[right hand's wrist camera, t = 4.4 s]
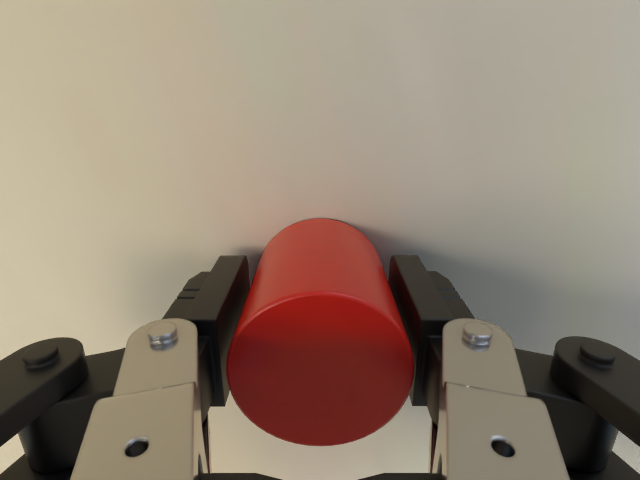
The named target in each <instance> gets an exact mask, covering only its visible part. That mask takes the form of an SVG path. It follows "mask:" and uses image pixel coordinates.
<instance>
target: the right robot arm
mask: <svg viewBox="0 0 640 480" xmlns="http://www.w3.org/2000/svg"><path fill="white" fill-rule="evenodd" d="M388 283H389V286H390V289H391V292H392V294H393V297H394V300H395V303H396V306H397V308H398V311H399V314H400V317H401V320H402V323H403V325H404V328H405V331H406V334H407V337H408V339H409V342H410V345H411V349H412V352H413V357H414V378H413V383H412V387H411V389H410V392H409V396H410V400H411V403H412V406H427V407H428V410H429V413H430V416H431V418H432V419H431V427H430V447H429V471H428V473H383V474H379V475H375V476H371V477H367V478H363V479H359V480H640V474H639V473H637V472H636V471H635V470H634V469H633V468H632V467H630V466H629V465H628V464H627V463H626V462H624V461H623V460H622V459H621V458H620V457H619V456H617V455H616V454H615V453H614V452H613V451H612V448H613V445H614V442H615V439H616V436H617V434H618V431H620V432H622V433H623V434H624V435H625V436H627V437H628V438H629V439H630V440H632V441H633V442H634V443H636V444H637V445H638V446H639V447H640V361H639V360H638V359H636V358H634V357H633V356H631V355H629V354H627V353H626V352H624V351H622V350H621V349H619V348H617V347H615V346H613V345H610V344H608V343H605V342H603V341H599V340H596V339H592V338H586V337H577V336H574V337H565V338H562V339H560V340H559V341H558V342H557V343H556V346H555V350H554V354H553V356H550V355H545V354H540V353H535V352H529V351H524V350H520V349H516V348H514V345H513V341H512V339H511V337H510V336H509V334H508V333H506V332H505V331H504V330H503V329H501V328H500V327H498V326H496V325H494V324H492V323H489V322H486V321H483V320H478V319H475V318H474V316H473V315H472V313H471V312H470V310H469V309H468V307H467V306H466V305H465V303H464V302H463V300H462V299H460V296H459V294H458V293H457V291H455V288H454V287H453V285H452V284H451V282H450V281H449V280H448V279H447V278H445V277H444V276H442V275H441V274H439V273H437V272H427V271H426V269H425V267H424V266H423V264H422V262H421V261H420V259H419V257H418V256H417V255H392V256H391V259H390V267H389V282H388ZM249 290H250V283H249V268H248V260H247V257H246V256H220V257H219V259H218V260H217V262H216V264H215V265H214V267H213V269H212V270H211V272H201V273H199V274H198V275H196V276H194V277H193V278H191V279H190V280H189V281H188V282H187V284H186V285H185V286H184V288H183V291H181V292H180V294H179V295H178V297H177V299H176V300H175V301H174V302H173V304H172V305H171V307H170V308H169V310H168V311H167V313H166V314H165V315H164V317H163V318H162V320H157V321H154V322H151V323H148V324H146V325H144V326H142V327H140V328H139V329H137V330H136V331H135V332H134V333H132V334H131V336H130V337H129V339H128V341H127V345H126V348H123V349H119V350H115V351H110V352H105V353H100V354H94V355H89V356H85V353H84V349H83V345H82V343H81V342H80V341H78V340H76V339H73V338H64V337H62V338H52V339H47V340H42V341H39V342H36V343H33V344H30V345H28V346H26V347H23V348H21V349H20V350H18V351H16V352H14V353H13V354H11V355H9V356H7V357H6V358H4V359H2V360H1V361H0V447H1V446H2V445H3V444H4V443H6V442H7V441H8V440H10V439H11V438H12V437H13V436H15V435H16V434H17V433H18V435H19V437H20V440H21V443H22V446H23V449H24V452H25V454H24V455H23V456H21V457H20V458H19V459H18V460H17V461H16V462H14V463H13V464H12V465H11V466H10V467H8V468H7V469H6V470H5V471H4V472H3V473H1V474H0V480H281V479H277V478H273V477H269V476H265V475H261V474H257V473H212V471H211V447H210V427H209V419H208V411H209V408H210V406H225V404H226V401H227V398H228V394H229V391H230V388H229V385H228V381H227V375H226V360H227V353H228V350H229V347H230V344H231V341H232V338H233V335H234V332H235V329H236V327H237V324H238V321H239V318H240V315H241V312H242V310H243V307H244V304H245V301H246V298H247V295H248V293H249Z"/></svg>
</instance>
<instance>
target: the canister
mask: <svg viewBox="0 0 640 480" xmlns="http://www.w3.org/2000/svg"><path fill="white" fill-rule="evenodd" d="M226 375H227V381H228V385H229V388H230V391H231V394H232V396H233V398H234V400H235V402H236V404H237V405H238V407H239V408H240V410H241V411H242V412H243V413H244V414H245V416H246V417H247V418H248V419H249V420H250V421H252V422H253V423H254V424H255V425H256V426H258V427H259V428H261V429H262V430H264V431H265V432H267V433H269V434H271V435H273V436H275V437H277V438H280V439H282V440H285V441H288V442H292V443H296V444H302V445H308V446H332V445H339V444H344V443H348V442H352V441H355V440H358V439H361V438H363V437H366V436H368V435H370V434H372V433H374V432H375V431H377V430H378V429H380V428H381V427H383V426H384V425H385V424H386V423H388V422H389V421H390V420H391V419H392V418H393V417H394V416H395V415H396V414H397V413H398V412H399V410H400V409H401V407H402V406H403V405H404V403H405V401H406V399H407V397H408V395H409V392H410V389H411V387H412V383H413V378H414V357H413V352H412V349H411V345H410V342H409V339H408V337H407V334H406V331H405V328H404V325H403V323H402V320H401V317H400V314H399V311H398V308H397V306H396V303H395V300H394V297H393V294H392V292H391V289H390V286H389V283H388V280H387V277H386V275H385V272H384V269H383V266H382V263H381V260H380V258H379V255H378V253H377V251H376V249H375V247H374V246H373V244H372V243H371V242H370V241H369V239H368V238H367V237H366V236H365V235H363V234H362V233H361V232H360V231H358V230H357V229H355V228H354V227H352V226H350V225H348V224H346V223H343V222H340V221H336V220H331V219H309V220H304V221H301V222H297V223H295V224H292V225H290V226H288V227H286V228H285V229H283V230H282V231H280V232H279V233H278V234H277V235H276V236H275V237H274V238H273V239H272V240H271V241H270V242H269V243H268V245H267V246H266V248H265V249H264V252H263V254H262V256H261V259H260V261H259V264H258V267H257V270H256V273H255V276H254V278H253V281H252V284H251V287H250V290H249V293H248V295H247V298H246V301H245V304H244V307H243V310H242V312H241V315H240V318H239V321H238V324H237V327H236V329H235V332H234V335H233V338H232V341H231V344H230V347H229V350H228V353H227V360H226Z"/></svg>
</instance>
